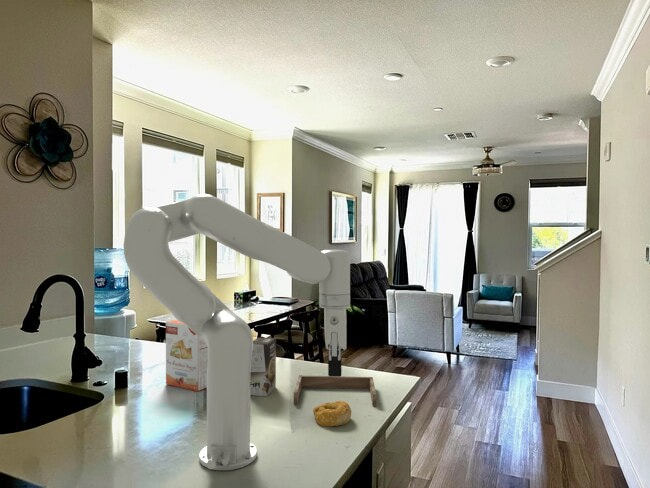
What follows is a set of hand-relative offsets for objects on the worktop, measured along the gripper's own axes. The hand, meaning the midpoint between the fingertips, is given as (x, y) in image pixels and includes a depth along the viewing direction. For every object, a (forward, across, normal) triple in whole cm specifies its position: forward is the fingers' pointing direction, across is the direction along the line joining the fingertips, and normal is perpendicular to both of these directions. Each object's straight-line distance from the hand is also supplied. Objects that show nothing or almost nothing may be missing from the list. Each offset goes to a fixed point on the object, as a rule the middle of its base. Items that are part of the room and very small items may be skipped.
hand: (334, 375), depth 113 cm
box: (+16, +29, +1) cm, 33 cm away
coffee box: (+16, +32, +24) cm, 42 cm away
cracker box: (+15, +35, +49) cm, 62 cm away
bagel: (+16, +11, +1) cm, 19 cm away
